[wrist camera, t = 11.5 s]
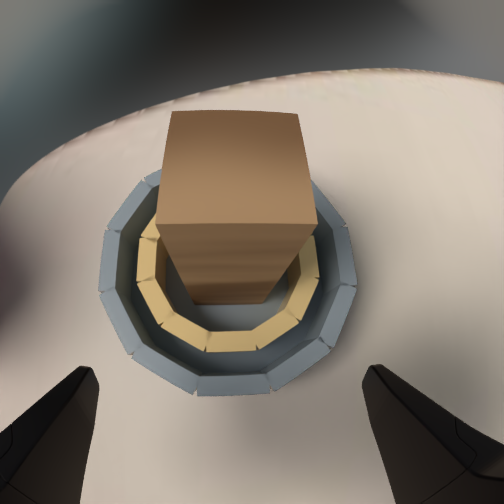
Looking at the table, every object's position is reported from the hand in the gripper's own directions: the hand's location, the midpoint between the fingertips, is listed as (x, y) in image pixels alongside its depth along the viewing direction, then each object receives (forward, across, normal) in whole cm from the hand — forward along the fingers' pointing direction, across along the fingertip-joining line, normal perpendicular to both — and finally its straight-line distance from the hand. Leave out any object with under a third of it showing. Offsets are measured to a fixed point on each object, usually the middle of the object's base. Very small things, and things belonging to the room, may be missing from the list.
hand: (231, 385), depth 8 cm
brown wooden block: (+10, 0, +2) cm, 10 cm away
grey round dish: (+10, 0, +2) cm, 11 cm away
